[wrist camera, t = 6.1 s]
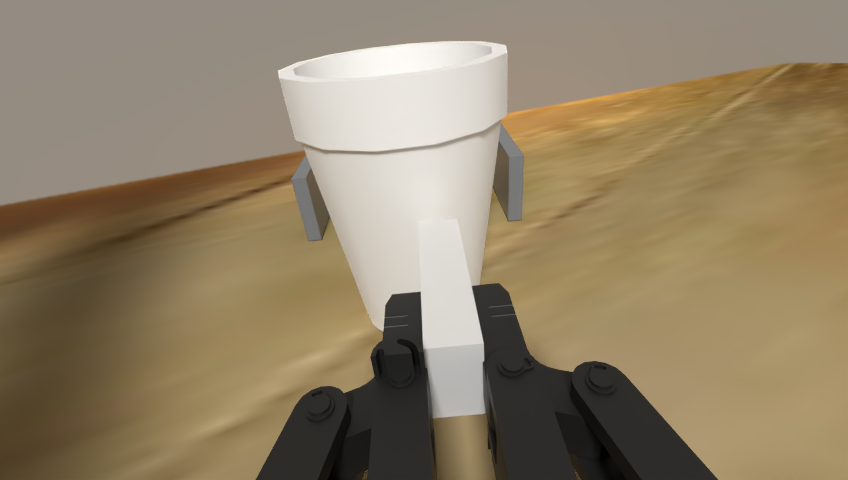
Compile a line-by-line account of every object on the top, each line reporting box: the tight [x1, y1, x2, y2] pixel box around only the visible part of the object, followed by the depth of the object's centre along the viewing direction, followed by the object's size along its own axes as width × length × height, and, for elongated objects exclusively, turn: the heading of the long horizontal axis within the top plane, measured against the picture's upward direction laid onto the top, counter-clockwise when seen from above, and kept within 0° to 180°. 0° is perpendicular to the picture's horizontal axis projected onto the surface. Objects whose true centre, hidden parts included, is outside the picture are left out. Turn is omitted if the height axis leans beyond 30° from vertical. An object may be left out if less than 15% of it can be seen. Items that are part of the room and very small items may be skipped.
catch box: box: [291, 124, 524, 241], centre depth 36 cm, size 16×16×6 cm
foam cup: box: [278, 41, 508, 332], centre depth 21 cm, size 10×9×13 cm
